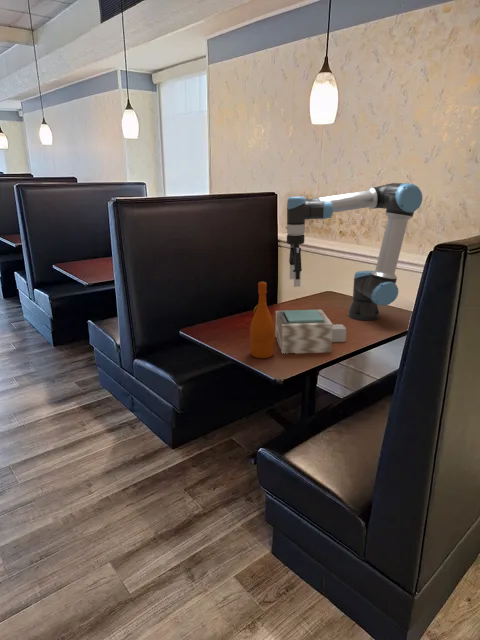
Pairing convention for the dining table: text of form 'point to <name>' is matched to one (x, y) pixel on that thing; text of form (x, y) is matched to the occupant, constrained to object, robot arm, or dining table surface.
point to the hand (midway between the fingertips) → (294, 282)
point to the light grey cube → (338, 333)
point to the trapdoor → (303, 316)
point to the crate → (303, 335)
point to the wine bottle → (262, 327)
